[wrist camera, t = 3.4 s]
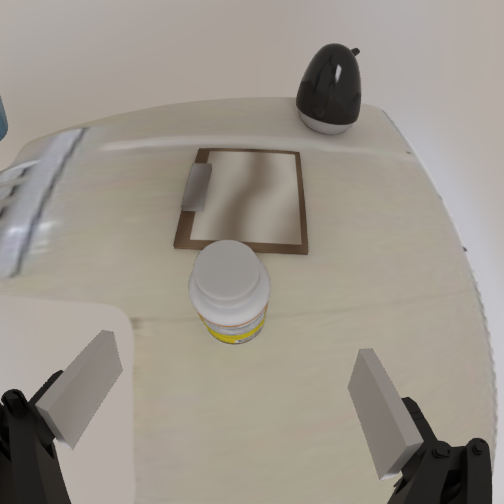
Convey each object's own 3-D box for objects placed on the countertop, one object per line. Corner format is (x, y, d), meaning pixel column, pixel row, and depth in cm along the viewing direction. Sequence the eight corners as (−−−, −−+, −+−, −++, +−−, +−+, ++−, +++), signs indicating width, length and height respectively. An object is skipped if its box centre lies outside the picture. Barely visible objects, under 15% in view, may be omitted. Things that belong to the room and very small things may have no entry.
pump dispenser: (364, 132, 40) (387, 56, 27) (327, 150, 37) (348, 58, 24) (321, 105, 44) (333, 34, 31) (280, 119, 41) (288, 36, 28)
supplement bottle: (218, 281, 26) (204, 217, 18) (273, 300, 26) (286, 243, 17) (195, 333, 24) (163, 291, 15) (252, 355, 23) (255, 327, 14)
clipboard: (174, 248, 28) (170, 239, 27) (199, 151, 36) (198, 142, 35) (307, 254, 28) (310, 246, 27) (298, 155, 36) (300, 146, 35)
